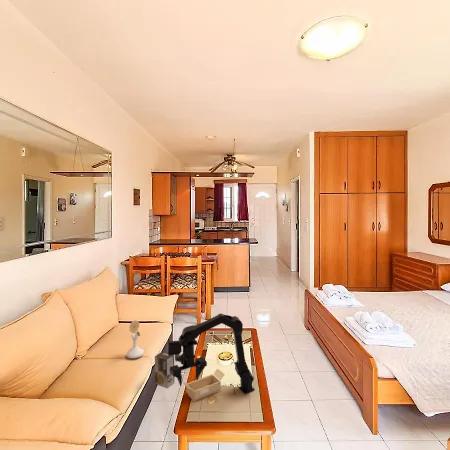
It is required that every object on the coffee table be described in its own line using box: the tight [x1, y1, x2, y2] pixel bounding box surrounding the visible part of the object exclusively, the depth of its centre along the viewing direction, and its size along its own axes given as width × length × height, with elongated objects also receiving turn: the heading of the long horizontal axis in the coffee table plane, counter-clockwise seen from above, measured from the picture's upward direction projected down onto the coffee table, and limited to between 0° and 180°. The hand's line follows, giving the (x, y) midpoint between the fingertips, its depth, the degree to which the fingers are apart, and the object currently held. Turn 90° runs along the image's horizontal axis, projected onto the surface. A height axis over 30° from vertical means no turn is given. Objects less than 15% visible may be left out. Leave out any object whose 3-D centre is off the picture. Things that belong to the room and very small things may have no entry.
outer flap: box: [182, 380, 193, 390], centre depth 153 cm, size 7×4×1 cm
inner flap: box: [212, 368, 225, 381], centre depth 164 cm, size 7×4×1 cm
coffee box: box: [154, 351, 176, 389], centre depth 166 cm, size 9×6×16 cm
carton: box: [186, 374, 222, 402], centre depth 158 cm, size 9×16×5 cm, turn 124°
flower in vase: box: [125, 319, 145, 359], centre depth 197 cm, size 13×11×25 cm
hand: (188, 382), depth 153 cm, fingers open, 9 cm apart
